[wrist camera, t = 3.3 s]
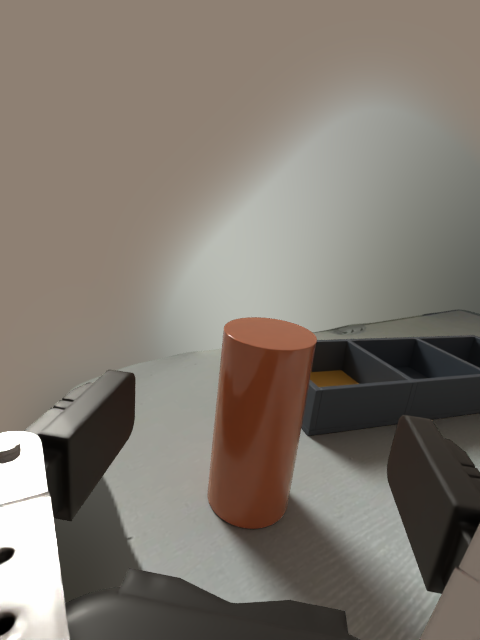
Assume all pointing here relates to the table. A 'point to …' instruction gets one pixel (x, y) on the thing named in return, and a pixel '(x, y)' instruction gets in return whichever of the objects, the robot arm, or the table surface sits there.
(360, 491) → the table surface
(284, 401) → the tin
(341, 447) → the table surface
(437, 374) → the gray storage bin
